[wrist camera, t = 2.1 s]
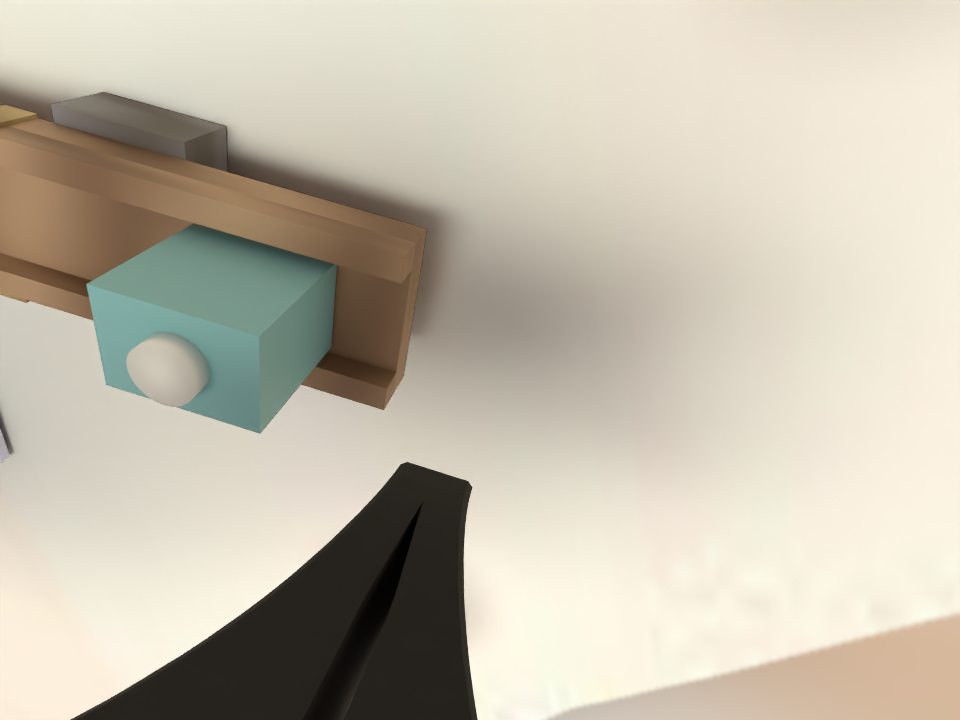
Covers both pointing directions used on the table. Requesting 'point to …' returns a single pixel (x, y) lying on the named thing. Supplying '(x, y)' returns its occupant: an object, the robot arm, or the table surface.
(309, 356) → the rider
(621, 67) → the table surface
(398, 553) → the robot arm
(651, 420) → the table surface
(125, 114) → the beam
